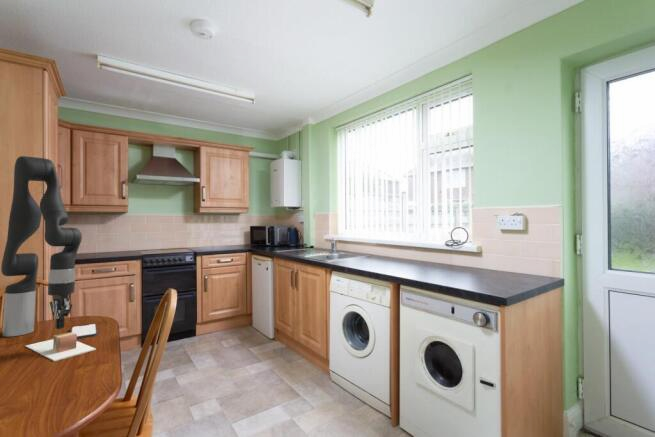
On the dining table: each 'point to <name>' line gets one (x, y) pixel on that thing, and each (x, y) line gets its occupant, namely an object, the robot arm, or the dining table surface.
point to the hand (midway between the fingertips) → (59, 328)
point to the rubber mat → (47, 351)
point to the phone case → (85, 331)
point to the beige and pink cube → (64, 342)
